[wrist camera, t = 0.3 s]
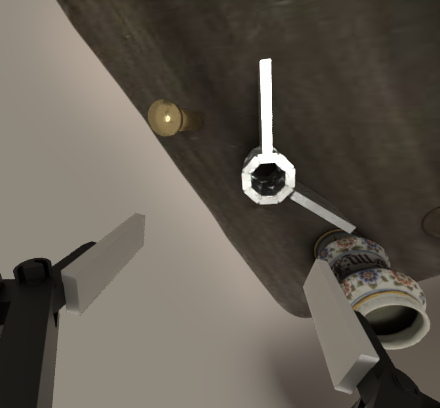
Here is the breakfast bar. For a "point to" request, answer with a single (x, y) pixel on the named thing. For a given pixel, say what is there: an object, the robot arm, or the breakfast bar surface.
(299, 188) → the hinge swing leaf
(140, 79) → the breakfast bar surface
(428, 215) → the beer glass
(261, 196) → the hinge fixed leaf
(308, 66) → the breakfast bar surface
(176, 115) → the brass pin
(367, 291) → the apothecary jar
